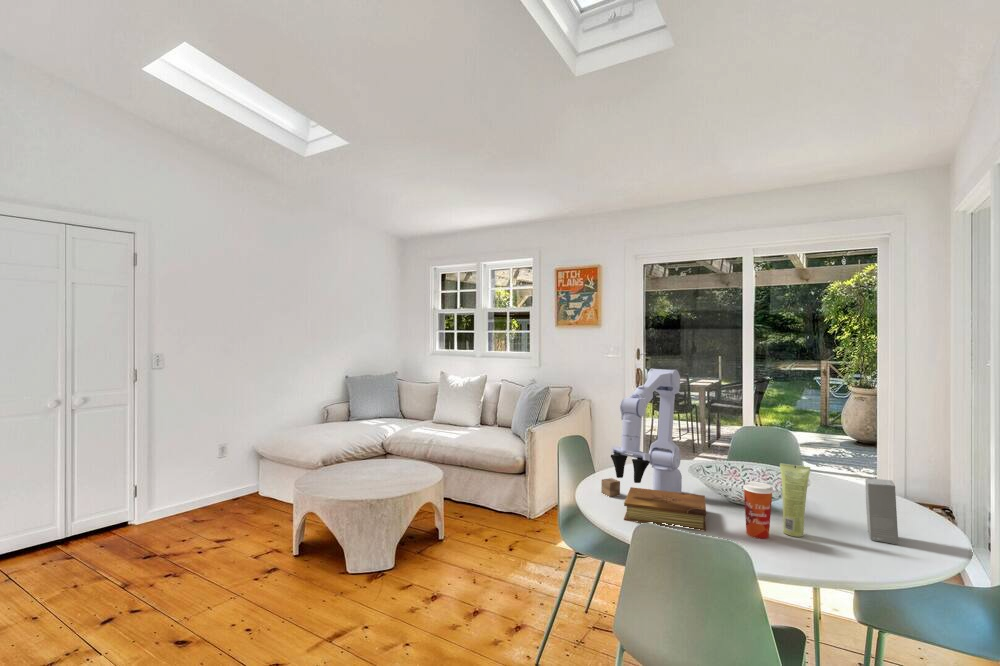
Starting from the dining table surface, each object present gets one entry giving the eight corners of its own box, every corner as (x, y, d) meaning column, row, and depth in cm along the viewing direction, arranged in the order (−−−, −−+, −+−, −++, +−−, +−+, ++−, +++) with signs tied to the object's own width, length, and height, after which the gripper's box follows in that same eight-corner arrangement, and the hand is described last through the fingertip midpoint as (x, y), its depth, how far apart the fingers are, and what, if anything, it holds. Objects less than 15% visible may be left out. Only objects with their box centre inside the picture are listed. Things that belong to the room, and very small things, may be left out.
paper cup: (741, 536, 143) (742, 486, 143) (743, 527, 150) (743, 479, 150) (773, 542, 139) (774, 490, 140) (773, 533, 146) (774, 483, 146)
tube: (795, 530, 149) (796, 462, 149) (809, 536, 144) (810, 466, 144) (778, 531, 148) (779, 463, 148) (792, 538, 143) (793, 467, 143)
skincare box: (898, 545, 138) (899, 486, 138) (866, 540, 142) (866, 482, 142) (895, 535, 146) (895, 479, 146) (864, 530, 149) (864, 475, 149)
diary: (704, 513, 165) (704, 494, 165) (706, 533, 147) (706, 513, 147) (630, 503, 173) (631, 485, 173) (623, 521, 155) (624, 502, 155)
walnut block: (611, 492, 183) (611, 478, 183) (619, 495, 179) (620, 481, 179) (601, 493, 181) (601, 479, 181) (609, 497, 177) (609, 482, 177)
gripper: (605, 432, 166) (602, 475, 165) (639, 438, 154) (636, 485, 152) (621, 433, 170) (619, 475, 168) (655, 439, 157) (653, 484, 156)
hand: (628, 480), depth 161 cm, fingers open, 7 cm apart
